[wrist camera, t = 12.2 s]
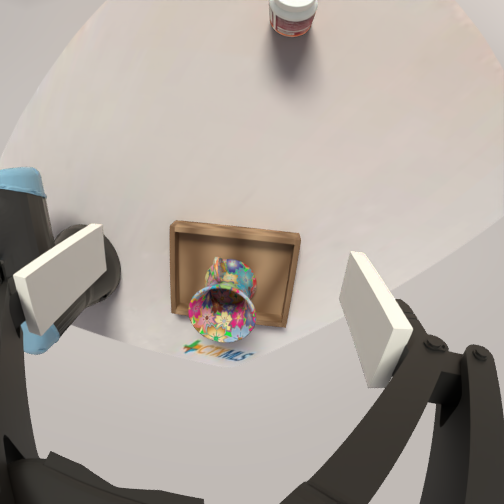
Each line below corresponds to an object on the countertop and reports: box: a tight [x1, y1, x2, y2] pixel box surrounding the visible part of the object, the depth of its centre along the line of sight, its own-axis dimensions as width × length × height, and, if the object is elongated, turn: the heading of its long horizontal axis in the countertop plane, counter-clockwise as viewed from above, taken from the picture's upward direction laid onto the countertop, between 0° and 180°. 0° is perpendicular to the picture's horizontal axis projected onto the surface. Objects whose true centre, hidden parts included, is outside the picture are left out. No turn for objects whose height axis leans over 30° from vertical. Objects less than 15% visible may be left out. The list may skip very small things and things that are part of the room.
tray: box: [170, 220, 301, 327], centre depth 49 cm, size 20×16×3 cm
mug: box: [188, 257, 257, 342], centre depth 45 cm, size 12×9×11 cm
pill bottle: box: [269, 0, 318, 37], centre depth 30 cm, size 6×6×11 cm
